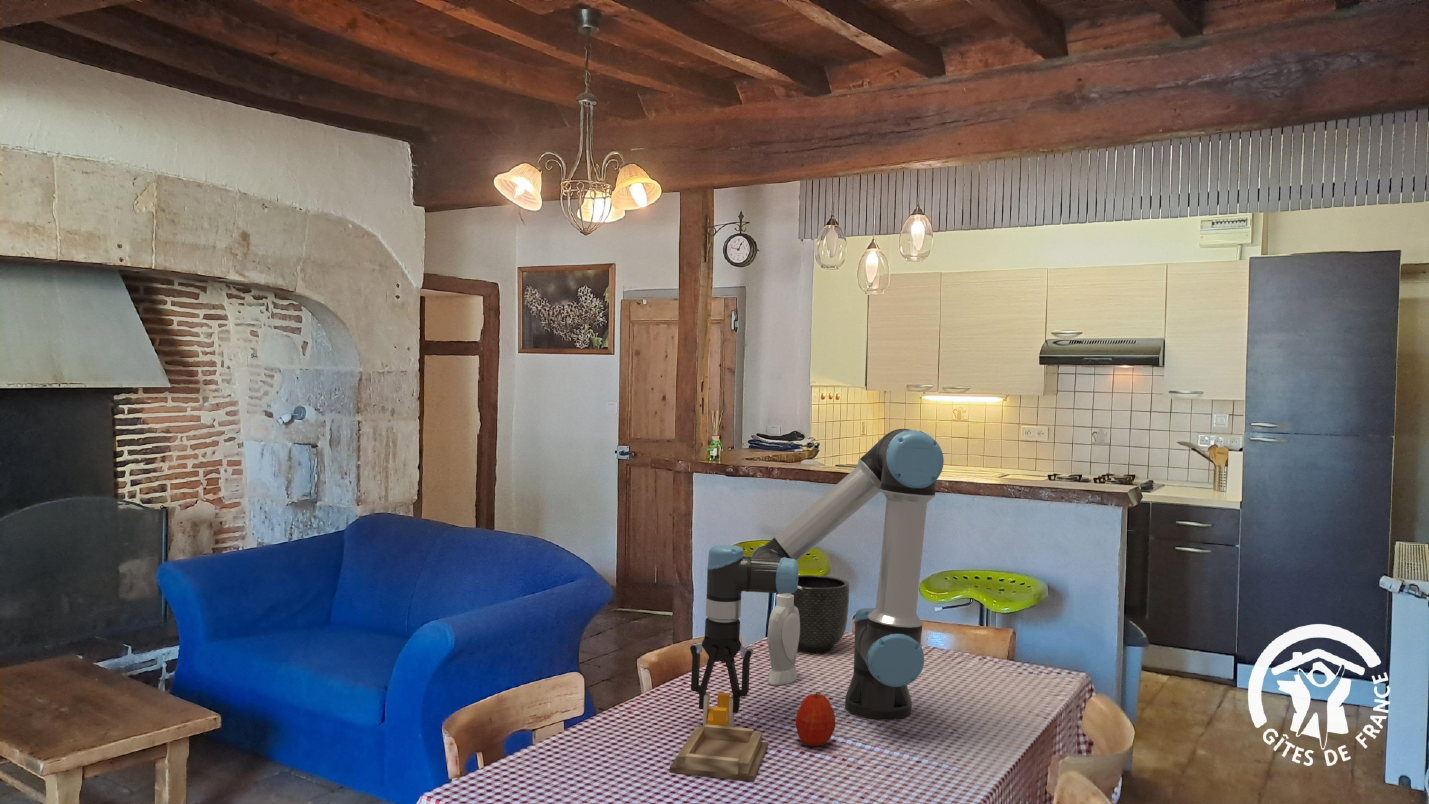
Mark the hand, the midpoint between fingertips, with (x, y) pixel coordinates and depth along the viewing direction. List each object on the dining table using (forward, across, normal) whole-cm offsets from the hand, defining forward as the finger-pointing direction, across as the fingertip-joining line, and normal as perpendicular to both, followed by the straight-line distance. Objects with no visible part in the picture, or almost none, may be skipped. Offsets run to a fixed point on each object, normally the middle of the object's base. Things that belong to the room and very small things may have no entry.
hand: (718, 725), depth 209 cm
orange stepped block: (0, 0, +3) cm, 3 cm away
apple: (0, -21, +6) cm, 22 cm away
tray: (0, -4, +19) cm, 19 cm away
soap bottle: (0, -10, -36) cm, 37 cm away
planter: (0, -14, -70) cm, 71 cm away
